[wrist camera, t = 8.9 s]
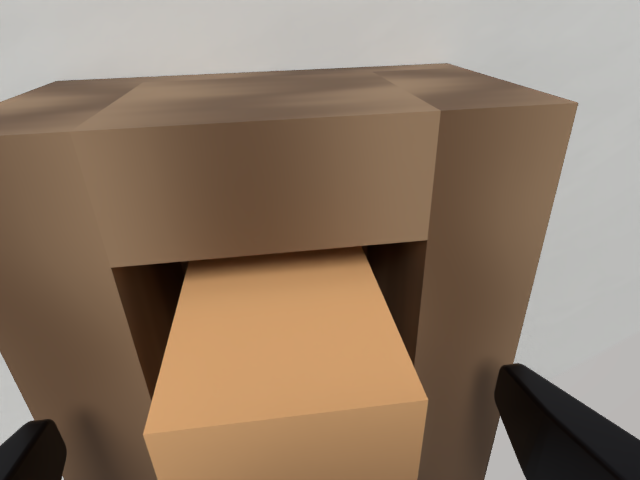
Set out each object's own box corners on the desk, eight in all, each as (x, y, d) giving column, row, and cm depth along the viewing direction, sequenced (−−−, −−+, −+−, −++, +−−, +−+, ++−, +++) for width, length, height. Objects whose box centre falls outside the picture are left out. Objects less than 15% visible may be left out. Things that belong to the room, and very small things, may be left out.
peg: (337, 192, 13) (427, 400, 6) (338, 299, 15) (407, 548, 8) (204, 201, 13) (142, 434, 6) (222, 310, 15) (191, 583, 8)
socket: (447, 63, 13) (578, 103, 8) (417, 346, 18) (483, 485, 13) (56, 81, 12) (-105, 141, 7) (145, 376, 17) (95, 542, 12)
